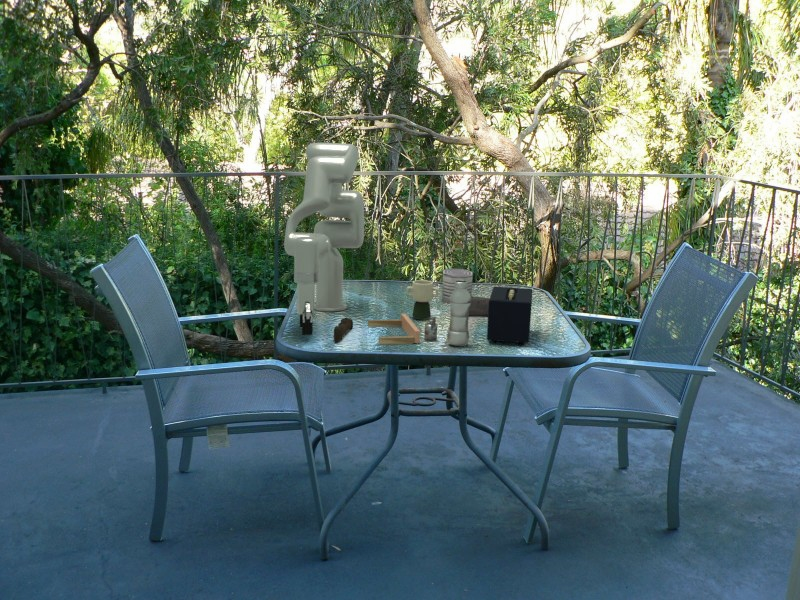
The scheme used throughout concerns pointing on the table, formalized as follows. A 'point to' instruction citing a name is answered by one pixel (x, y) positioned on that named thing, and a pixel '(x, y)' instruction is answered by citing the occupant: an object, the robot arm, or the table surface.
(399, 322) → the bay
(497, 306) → the speaker
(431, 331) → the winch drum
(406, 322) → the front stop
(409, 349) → the table surface
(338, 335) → the dark brown log
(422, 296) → the character mug
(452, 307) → the plastic bottle
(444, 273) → the can
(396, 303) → the table surface
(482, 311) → the perforated stone tool
